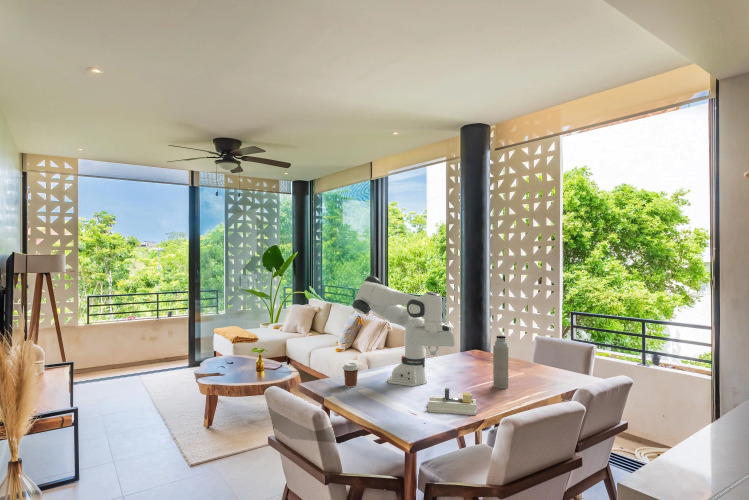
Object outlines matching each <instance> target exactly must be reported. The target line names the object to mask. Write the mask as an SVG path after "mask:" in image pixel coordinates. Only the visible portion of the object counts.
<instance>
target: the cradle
mask: <svg viewBox="0 0 749 500" xmlns="http://www.w3.org/2000/svg"><path fill="white" fill-rule="evenodd" d="M443 397H444V396H432V395H431V396H429V398H428V399H429V400H428V402H427V404H428V407H427V412H429V413H442V414H443V413H444V414H458V415H469V416H477V413H478V412H477V399H475V398H472V403H463V397H460V398H461V399H462V403H457V402H443Z"/></svg>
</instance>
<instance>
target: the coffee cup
mask: <svg viewBox="0 0 749 500" xmlns="http://www.w3.org/2000/svg"><path fill="white" fill-rule="evenodd" d="M359 369H360V367H359V366H358V364H357V363H355V362H346V363H345V364H344V366H342V370H343V373H344V374H343V375H344V386H345V387H346V386H347V387H346V388H350V387H351V388H356V387H357V385H358V371H359Z"/></svg>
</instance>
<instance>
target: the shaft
mask: <svg viewBox="0 0 749 500" xmlns="http://www.w3.org/2000/svg"><path fill="white" fill-rule="evenodd" d="M442 397H443V402H457V403H462V399H461V398H462V397H450V388H444V396H442Z"/></svg>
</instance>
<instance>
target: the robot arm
mask: <svg viewBox="0 0 749 500" xmlns="http://www.w3.org/2000/svg"><path fill="white" fill-rule="evenodd" d="M442 298H443V297H442V295H441V294H440V293H439V292H435V291H426V292H425V293H424V294H423V295H420V296H419V295H414V294H411V293H407V292H403V291H400V290H397V289H395V288H392V287H390V286H387V285H384V284H382V281H381V280H380V279H379V278H378V277H376V276H373V275H368V276H367V277H366V278H365V279H364V280H363V283H362V284H361V285H360V287H359V289H358V292H357V294H356V295H355V299H354V300H353V301H352V307H353V310H355V312H356V313H358V314H360V315H367V314H369V313H370V311H372V312H373V313H375V314H377V315H378V316H379V317H382V318H384V319H385V320H387V321H389V322H390V323H392V324H395V325H398V326H400V327H403V328H405V330H404V331H405V334H404V336H405V338H404V354H403V355H401V358H400V359H401V362H400V363H399V364H398V365H397V366H395V367H394V368H393V370H392V372H391V375H390V376H388V378H387V383H388V384H393V385H400V386H410V387H415V386H419V385H424V384H426V383H427V382H428V380H427V377H426V370H425V368H426V356H425V347H426V346H427V349H428V351H429V355H430V356H437V352H438V350H439V348H440V347H448V348H452V347H455V344H456V342H455V341H456V340H455V334H454V331H453V327H452V326H453V325H451V324H449V323H445V322H443V321H444V320H443V311H444V310H443V308H444V307H443V306H444V305H443V299H442ZM432 347H435V350H432V349H431V348H432Z"/></svg>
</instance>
